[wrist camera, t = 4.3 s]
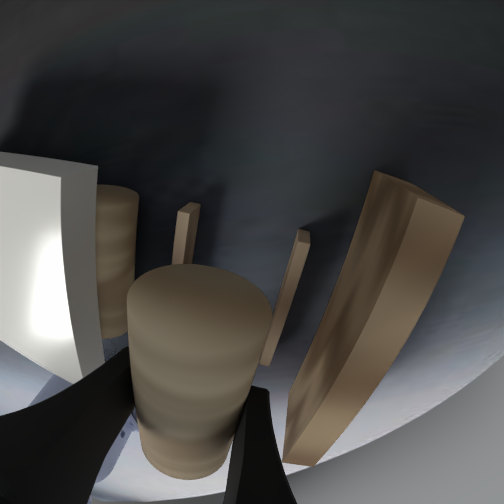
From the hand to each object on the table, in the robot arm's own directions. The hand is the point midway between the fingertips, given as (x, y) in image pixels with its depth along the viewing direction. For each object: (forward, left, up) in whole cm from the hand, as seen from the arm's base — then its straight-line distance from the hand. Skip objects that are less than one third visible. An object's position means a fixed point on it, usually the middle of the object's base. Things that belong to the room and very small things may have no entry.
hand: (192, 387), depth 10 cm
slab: (+5, +13, -4) cm, 14 cm away
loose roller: (0, 0, -2) cm, 2 cm away
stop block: (-2, -6, -8) cm, 10 cm away
